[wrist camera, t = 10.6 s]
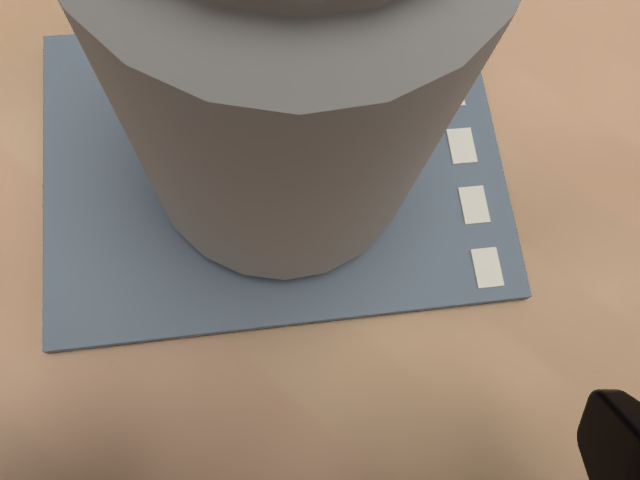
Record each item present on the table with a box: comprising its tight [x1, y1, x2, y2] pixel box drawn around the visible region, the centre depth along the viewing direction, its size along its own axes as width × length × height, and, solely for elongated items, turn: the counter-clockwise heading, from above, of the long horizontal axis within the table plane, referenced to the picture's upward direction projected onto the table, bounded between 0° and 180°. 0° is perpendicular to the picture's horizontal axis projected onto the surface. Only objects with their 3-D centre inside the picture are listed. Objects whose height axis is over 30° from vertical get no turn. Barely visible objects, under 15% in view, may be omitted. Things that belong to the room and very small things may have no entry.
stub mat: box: [43, 34, 532, 353], centre depth 19 cm, size 14×10×1 cm
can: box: [58, 0, 521, 280], centre depth 13 cm, size 8×8×12 cm
